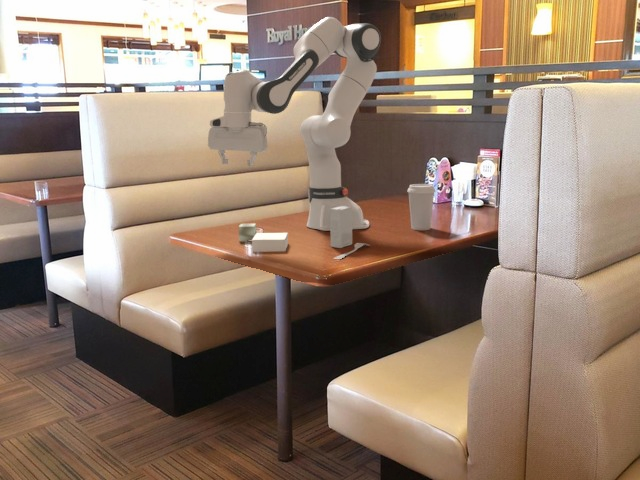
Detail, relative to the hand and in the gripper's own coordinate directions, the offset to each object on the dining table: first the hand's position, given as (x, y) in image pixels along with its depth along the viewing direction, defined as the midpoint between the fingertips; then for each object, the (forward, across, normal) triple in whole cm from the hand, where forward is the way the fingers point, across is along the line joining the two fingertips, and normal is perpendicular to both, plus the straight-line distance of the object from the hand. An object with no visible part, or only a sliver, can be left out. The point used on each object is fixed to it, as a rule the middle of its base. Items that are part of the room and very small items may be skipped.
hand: (237, 164), depth 209 cm
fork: (+24, -44, +10) cm, 51 cm away
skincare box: (+23, -38, +3) cm, 44 cm away
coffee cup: (+21, -56, -29) cm, 66 cm away
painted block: (+24, -17, +11) cm, 32 cm away
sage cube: (+24, -5, +2) cm, 25 cm away
